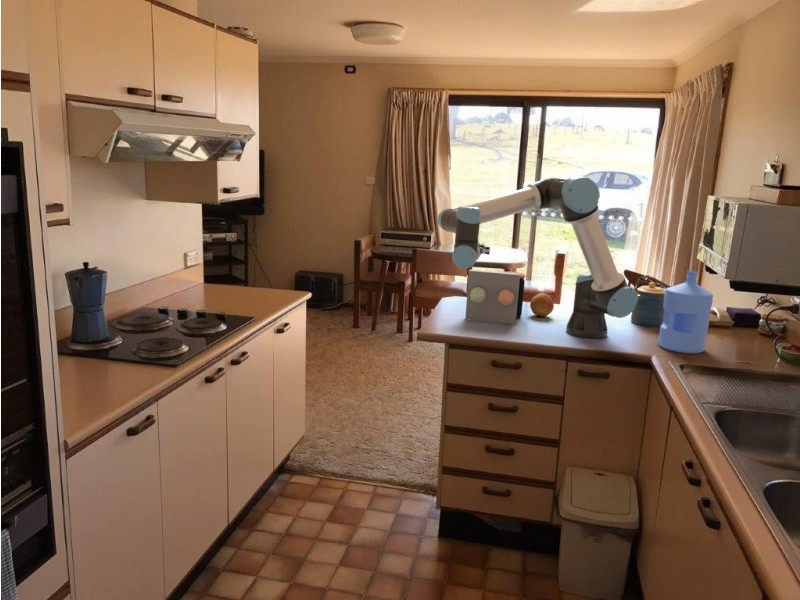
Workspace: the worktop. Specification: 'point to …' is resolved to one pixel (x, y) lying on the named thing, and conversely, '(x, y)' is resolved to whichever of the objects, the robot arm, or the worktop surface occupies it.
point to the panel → (492, 296)
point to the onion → (541, 305)
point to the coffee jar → (520, 293)
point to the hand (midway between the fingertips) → (476, 244)
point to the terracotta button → (505, 297)
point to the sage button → (477, 294)
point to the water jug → (685, 317)
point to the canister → (649, 306)
